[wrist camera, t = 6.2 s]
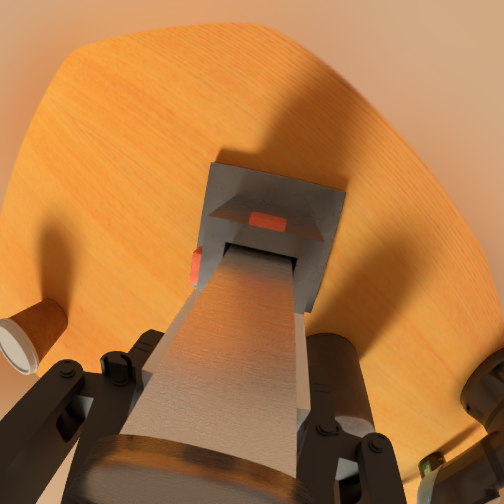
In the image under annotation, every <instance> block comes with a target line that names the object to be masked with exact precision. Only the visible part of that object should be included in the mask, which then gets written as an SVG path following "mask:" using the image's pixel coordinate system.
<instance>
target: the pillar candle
mask: <svg viewBox="0 0 504 504" xmlns="http://www.w3.org/2000/svg"><path fill="white" fill-rule="evenodd" d="M306 348H307V361H308V367H314V368H321V369H324V370H325V372H326V373H327V375H328V376H329V381H330V387H331V394H332V401H333V409H334V416H335V420H336V421H338V422H339V423H340V425H341V427H342V430H344V431H345V432H347V433H349V434H352V435H355V436H358V437H362V438H363V437H364V436H365V435H366V434H368V433H372V432H375V426H374V422H373V417H372V412H371V408H370V404H369V400H368V395H367V391H366V387H365V383H364V379H363V375H362V371H361V368H360V364H359V361H358V356H357V353H356V350H355V348H354V347H353V345H352V344H351V343H350V341H348V340H347V339H346V338H344V337H342V336H340V335H336V334H331V333H330V334H329V333H319V334H315V335H312V336H308V337H306Z"/></svg>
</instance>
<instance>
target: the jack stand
mask: <svg viewBox="0 0 504 504" xmlns="http://www.w3.org/2000/svg"><path fill="white" fill-rule="evenodd" d="M345 196H346V192H344V191H342V190H338V189H334V188H330V187H327V186H323V185H319V184H315V183H311V182H307V181H303V180H298V179H294V178H290V177H286V176H281V175H277V174H272V173H267V172H263V171H258V170H253V169H248V168H243V167H238V166H233V165H227V164H222V163H216V162H211V165H210V170H209V176H208V182H207V187H206V193H205V199H204V205H203V211H202V217H201V224H200V230H199V237H198V244H197V249H196V250H195V251H194V252H193V258H192V266H191V273H190V282H189V283H191V284H192V286H195V287H197V289H196V290H199V291H203V290H204V288H205V286H206V285H207V283H208V281H209V280H210V278H211V276H212V275H213V273H214V272H215V270H216V268H217V267H218V265H219V263H220V262H221V260H222V259H223V257H224V255H225V254H226V252H227V251H228V249H229V247H230V246H231V244H232V243H234V244H238V245H243V246H247V247H251V248H256V249H260V250H265V251H269V252H273V253H278V254H282V255H287V256H291V259H292V276H293V295H294V313H298V314H304V312H308V313H311V311H312V308H313V305H314V302H315V299H316V296H317V293H318V290H319V287H320V284H321V280H322V277H323V274H324V271H325V268H326V264H327V261H328V258H329V254H330V251H331V247H332V244H333V240H334V237H335V233H336V230H337V226H338V222H339V219H340V215H341V211H342V207H343V203H344V200H345Z"/></svg>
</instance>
